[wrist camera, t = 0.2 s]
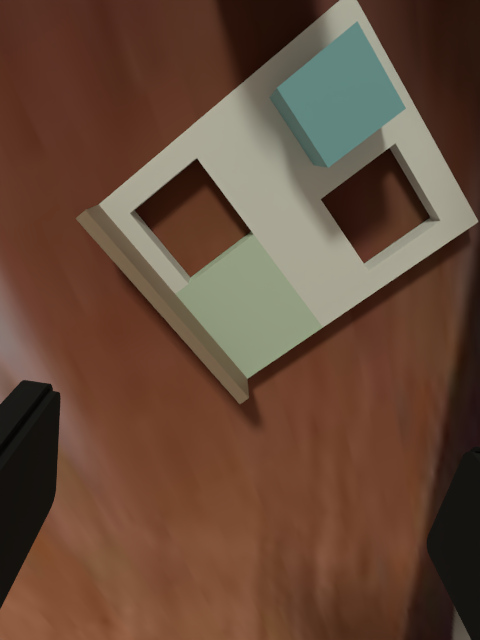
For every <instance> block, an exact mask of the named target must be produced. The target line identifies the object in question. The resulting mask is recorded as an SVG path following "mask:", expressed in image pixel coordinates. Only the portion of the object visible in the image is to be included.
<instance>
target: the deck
mask: <svg viewBox="0 0 480 640" xmlns="http://www.w3.org/2000/svg"><path fill="white" fill-rule="evenodd" d="M357 21H358V23H359V25H360V27H361V29H362V30H363V32H364V34H365V36H366V38H367V39H368V41H369V43H370V45H371V46H372V48H373V50H374V52H375V54H376V55H377V57H378V59H379V61H380V63H381V64H382V66H383V68H384V70H385V72H386V73H387V75H388V77H389V79H390V81H391V82H392V84H393V86H394V88H395V90H396V91H397V93H398V95H399V97H400V99H401V100H402V102H403V104H404V106H405V107H406V109H405V110H403V111H402V112H401V113H399V114H398V115H397V116H396V117H394V118H393V119H392V120H390V121H389V122H388V123H386V124H385V125H384V126H382V127H381V128H380V129H378V130H377V131H376V132H375V133H373V134H372V135H371V136H369V137H368V138H367V139H365V140H364V141H363V142H361V143H360V144H359V145H358V146H356V147H355V148H354V149H352V150H351V151H350V152H348V153H347V154H346V155H344V156H343V157H342V158H340V159H339V160H338V161H337V162H335V163H334V164H333V165H331V166H330V167H329V168H327V167H321V166H315V165H313V163H312V162H311V160H310V159H309V157H308V156H307V154H306V153H305V151H304V150H303V148H302V147H301V145H300V144H299V142H298V141H297V139H296V138H295V136H294V134H293V133H292V131H291V130H290V128H289V127H288V125H287V124H286V122H285V121H284V119H283V118H282V116H281V115H280V113H279V112H278V110H277V109H276V107H275V106H274V104H273V102H272V101H271V99H270V96H271V95H272V94H273V92H274V91H275V90H276V88H277V87H278V86H280V85H281V84H282V83H283V82H284V81H286V80H287V79H288V78H289V77H290V76H292V75H293V74H294V73H295V72H296V71H298V70H299V69H300V68H301V67H303V66H304V65H305V64H306V63H307V62H309V61H310V60H311V59H312V58H313V57H315V56H316V55H317V54H318V53H319V52H321V51H322V50H323V49H324V48H325V47H327V46H328V45H329V44H330V43H331V42H333V41H334V40H335V39H336V38H338V37H339V36H340V35H341V34H342V33H344V32H345V31H346V30H347V29H348V28H350V27H351V26H352V25H353V24H354V23H356V22H357ZM388 148H390V150H391V151H392V153H393V155H394V156H395V158H396V160H397V162H398V163H399V165H400V167H401V168H402V170H403V172H404V173H405V175H406V177H407V179H408V180H409V182H410V184H411V185H412V187H413V189H414V190H415V192H416V194H417V196H418V197H419V199H420V201H421V202H422V204H423V206H424V207H425V209H426V211H427V213H428V214H429V216H430V218H429V219H427V220H426V221H425V222H423V223H422V224H420V225H419V226H417V227H416V228H415V229H413V230H412V231H410V232H409V233H407V234H406V235H405V236H403V237H402V238H400V239H399V240H397V241H396V242H394V243H393V244H392V245H390V246H389V247H387V248H386V249H384V250H383V251H382V252H380V253H379V254H377V255H376V256H374V257H373V258H372V259H370V260H369V261H367V262H366V263H363V262H362V260H361V259H360V257H359V256H358V254H357V253H356V251H355V250H354V248H353V247H352V245H351V244H350V242H349V241H348V239H347V238H346V236H345V235H344V233H343V232H342V231H341V229H340V228H339V226H338V225H337V223H336V222H335V220H334V219H333V217H332V216H331V214H330V213H329V211H328V210H327V208H326V207H325V205H324V204H323V202H322V201H321V199H322V198H323V197H324V196H326V195H327V194H328V193H330V192H331V191H332V190H334V189H335V188H336V187H338V186H339V185H340V184H342V183H343V182H344V181H346V180H347V179H348V178H350V177H351V176H352V175H354V174H355V173H356V172H358V171H359V170H360V169H362V168H363V167H364V166H366V165H367V164H368V163H370V162H371V161H372V160H374V159H375V158H376V157H378V156H379V155H380V154H382V153H383V152H384V151H386V150H387V149H388ZM196 159H198V160H199V162H200V163H201V164H202V166H203V167H204V168H205V170H206V171H207V172H208V174H209V175H210V176H211V178H212V179H213V180H214V182H215V183H216V184H217V186H218V187H219V188H220V190H221V191H222V192H223V194H224V195H225V197H226V198H227V199H228V201H229V202H230V203H231V205H232V206H233V207H234V209H235V210H236V211H237V213H238V214H239V215H240V217H241V218H242V219H243V221H244V222H245V223H246V225H247V226H248V227H249V229H250V230H251V232H250V233H249V234H247V235H246V236H245V237H243V238H242V239H241V240H239V241H238V242H237V243H235V244H234V245H233V246H231V247H230V248H229V249H228V250H226V251H225V252H224V253H222V254H221V255H220V256H218V257H217V258H216V259H214V260H213V261H212V262H210V263H209V264H208V265H206V266H205V267H204V268H203V269H201V270H200V271H199V272H197V273H196V274H195V275H193V276H192V277H191V278H190V277H189V275H188V274H187V273H186V272H185V271H184V269H183V268H182V267H181V266H180V265H179V263H178V262H177V261H176V260H175V258H174V257H173V256H172V255H171V254H170V252H169V251H168V250H167V249H166V248H165V246H164V245H163V244H162V243H161V242H160V240H159V239H158V238H157V237H156V236H155V234H154V233H153V232H152V231H151V230H150V228H149V227H148V226H147V225H146V223H145V222H144V221H143V220H142V219H141V217H140V216H139V215H138V214H137V213H136V211H135V209H137V208H138V207H139V206H140V205H141V204H143V203H144V202H145V201H146V200H147V199H149V198H150V197H151V196H152V195H153V194H155V193H156V192H157V191H158V190H160V189H161V188H162V187H163V186H164V185H166V184H167V183H168V182H169V181H170V180H172V179H173V178H174V177H175V176H176V175H178V174H179V173H180V172H181V171H183V170H184V169H185V168H186V167H187V166H189V165H190V164H191V163H192V162H193V161H195V160H196ZM76 219H77V221H78V222H79V223H80V224H81V225H82V226H83V227H84V228H85V230H86V231H87V232H88V233H89V234H90V235H91V236H92V237H93V239H94V240H95V241H96V242H97V243H98V244H99V245H100V247H101V248H102V249H103V250H104V251H105V252H106V253H107V254H108V256H109V257H110V258H111V259H112V260H113V261H114V262H115V264H116V265H117V266H118V267H119V268H120V269H121V270H122V271H123V273H124V274H125V275H126V276H127V277H128V278H129V279H130V281H131V282H132V283H133V284H134V285H135V286H136V287H137V288H138V290H139V291H140V292H141V293H142V294H143V295H144V296H145V298H146V299H147V300H148V301H149V302H150V303H151V304H152V305H153V307H154V308H155V309H156V310H157V311H158V312H159V313H160V314H161V316H162V317H163V318H164V319H165V320H166V321H167V322H168V324H169V325H170V326H171V327H172V328H173V329H174V330H175V331H176V333H177V334H178V335H179V336H180V337H181V338H182V339H183V341H184V342H185V343H186V344H187V345H188V346H189V347H190V348H191V350H192V351H193V352H194V353H195V354H196V355H197V356H198V358H199V359H200V360H201V361H202V362H203V363H204V364H205V365H206V367H207V368H208V369H209V370H210V371H211V372H212V373H213V375H214V376H215V377H216V378H217V379H218V380H219V381H220V382H221V384H222V385H223V386H224V387H225V388H226V389H227V390H228V392H229V393H230V394H231V395H232V396H233V397H234V398H235V399H236V401H237V402H238V403H239V404H241V403H243V402H244V401H246V400H247V399H249V391H248V378H249V377H251V376H252V375H254V374H255V373H257V372H258V371H260V370H261V369H263V368H264V367H266V366H267V365H268V364H270V363H271V362H273V361H274V360H276V359H277V358H279V357H280V356H282V355H283V354H285V353H286V352H288V351H289V350H291V349H292V348H293V347H295V346H296V345H298V344H299V343H301V342H302V341H304V340H305V339H307V338H308V337H310V336H311V335H313V334H314V333H316V332H317V331H318V330H320V329H321V328H323V327H324V326H326V325H327V324H329V323H330V322H332V321H333V320H335V319H336V318H338V317H339V316H341V315H342V314H344V313H345V312H346V311H348V310H349V309H351V308H352V307H354V306H355V305H357V304H358V303H360V302H361V301H363V300H364V299H366V298H367V297H369V296H370V295H371V294H373V293H374V292H376V291H377V290H379V289H380V288H382V287H383V286H385V285H386V284H388V283H389V282H391V281H392V280H394V279H395V278H396V277H398V276H399V275H401V274H402V273H404V272H405V271H407V270H408V269H410V268H411V267H413V266H414V265H416V264H417V263H419V262H420V261H422V260H423V259H424V258H426V257H427V256H429V255H430V254H432V253H433V252H435V251H436V250H438V249H439V248H441V247H442V246H444V245H445V244H447V243H448V242H449V241H451V240H452V239H454V238H455V237H457V236H458V235H460V234H461V233H463V232H464V231H466V230H467V229H469V228H470V227H472V226H473V225H474V224H476V223H477V222H478V220H477V218H476V216H475V214H474V213H473V211H472V209H471V207H470V205H469V203H468V202H467V200H466V198H465V196H464V194H463V193H462V191H461V189H460V187H459V185H458V183H457V182H456V180H455V178H454V176H453V174H452V173H451V171H450V169H449V167H448V165H447V163H446V162H445V160H444V158H443V156H442V154H441V152H440V151H439V149H438V147H437V145H436V143H435V142H434V140H433V138H432V136H431V134H430V132H429V131H428V129H427V127H426V125H425V123H424V122H423V120H422V118H421V116H420V114H419V112H418V111H417V109H416V107H415V105H414V103H413V102H412V100H411V98H410V96H409V94H408V92H407V91H406V89H405V87H404V85H403V83H402V82H401V80H400V78H399V76H398V74H397V72H396V71H395V69H394V67H393V65H392V63H391V62H390V60H389V58H388V56H387V54H386V52H385V51H384V49H383V47H382V45H381V43H380V42H379V40H378V38H377V36H376V34H375V32H374V31H373V29H372V27H371V25H370V23H369V22H368V20H367V18H366V16H365V14H364V12H363V11H362V9H361V7H360V5H359V3H358V2H357V0H340V1H338V2H337V3H336V4H335V5H334V6H333V7H331V8H330V9H329V10H328V11H327V12H325V13H324V14H323V15H322V16H321V17H320V18H318V19H317V20H316V21H315V22H314V23H312V24H311V25H310V26H309V27H308V28H307V29H305V30H304V31H303V32H302V33H301V34H299V35H298V36H297V37H296V38H295V39H294V40H292V41H291V42H290V43H289V44H288V45H287V46H285V47H284V48H283V49H282V50H281V51H279V52H278V53H277V54H276V55H275V56H274V57H272V58H271V59H270V60H269V61H268V62H266V63H265V64H264V65H263V66H262V67H261V68H259V69H258V70H257V71H256V72H255V73H253V74H252V75H251V76H250V77H249V78H248V79H246V80H245V81H244V82H243V83H242V84H240V85H239V86H238V87H237V88H236V89H235V90H233V91H232V92H231V93H230V94H229V95H228V96H226V97H225V98H224V99H223V100H222V101H220V102H219V103H218V104H217V105H216V106H215V107H213V108H212V109H211V110H210V111H209V112H207V113H206V114H205V115H204V116H203V117H202V118H200V119H199V120H198V121H197V122H196V123H194V124H193V125H192V126H191V127H190V128H189V129H187V130H186V131H185V132H184V133H183V134H182V135H180V136H179V137H178V138H177V139H176V140H174V141H173V142H172V143H171V144H170V145H169V146H167V147H166V148H165V149H164V150H163V151H161V152H160V153H159V154H158V155H157V156H156V157H154V158H153V159H152V160H151V161H150V162H148V163H147V164H146V165H145V166H144V167H143V168H141V169H140V170H139V171H138V172H137V173H135V174H134V175H133V176H132V177H131V178H130V179H128V180H127V181H126V182H125V183H124V184H123V185H121V186H120V187H119V188H118V189H117V190H115V191H114V192H113V193H112V194H111V195H110V196H108V197H107V198H106V199H105V200H104V201H102V202H101V203H100V204H99V205H97V206H94V207H92V208H89V209H87V210H85V211H84V212H83V213H82V214H80V215H79V216H78V217H77V218H76Z"/></svg>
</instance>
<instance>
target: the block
mask: <svg viewBox="0 0 480 640" xmlns="http://www.w3.org/2000/svg"><path fill="white" fill-rule="evenodd" d="M270 99H271V101H272V102H273V104H274V106H275V107H276V109H277V110H278V112H279V113H280V115H281V116H282V118H283V119H284V121H285V122H286V124H287V125H288V127H289V128H290V130H291V131H292V133H293V134H294V136H295V138H296V139H297V141H298V142H299V144H300V145H301V147H302V148H303V150H304V151H305V153H306V154H307V156H308V157H309V159H310V160H311V162H312V163H313V165H315V166H321V167H327V168H329V167H330V166H331V165H333V164H334V163H335V162H337V161H338V160H339V159H340V158H342V157H343V156H344V155H346V154H347V153H348V152H350V151H351V150H352V149H354V148H355V147H356V146H358V145H359V144H360V143H361V142H363V141H364V140H365V139H367V138H368V137H369V136H371V135H372V134H373V133H375V132H376V131H377V130H378V129H380V128H381V127H382V126H384V125H385V124H386V123H388V122H389V121H390V120H392V119H393V118H394V117H396V116H397V115H398V114H399V113H401V112H402V111H403V110H405V109H406V107H405V106H404V104H403V102H402V100H401V99H400V97H399V95H398V93H397V91H396V90H395V88H394V86H393V84H392V82H391V81H390V79H389V77H388V75H387V73H386V72H385V70H384V68H383V66H382V64H381V63H380V61H379V59H378V57H377V55H376V54H375V52H374V50H373V48H372V46H371V45H370V43H369V41H368V39H367V38H366V36H365V34H364V32H363V30H362V29H361V27H360V25H359V23H358V21H357V22H356V23H354V24H353V25H352V26H351V27H350V28H348V29H347V30H346V31H345V32H344V33H342V34H341V35H340V36H339V37H338V38H336V39H335V40H334V41H333V42H331V43H330V44H329V45H328V46H327V47H325V48H324V49H323V50H322V51H321V52H319V53H318V54H317V55H316V56H315V57H313V58H312V59H311V60H310V61H309V62H307V63H306V64H305V65H304V66H303V67H301V68H300V69H299V70H298V71H296V72H295V73H294V74H293V75H292V76H290V77H289V78H288V79H287V80H286V81H284V82H283V83H282V84H281V85H280V86H278V87H277V88H276V90H275V91H274V92H273V94H272V95H271V96H270Z"/></svg>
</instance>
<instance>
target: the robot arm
mask: <svg viewBox="0 0 480 640" xmlns="http://www.w3.org/2000/svg"><path fill="white" fill-rule="evenodd" d="M59 416H60V393H59V392H55V391H53V388H52V385H51V384H47V383H40V382H34V381H27V380H23V381H22V382H20V383H19V385H18V386H17V387H16V388H15V389H14V390H13V391H12V392H11V393H10V394H9V396H8V397H7V398H6V399H5V400H4V401H3V402H2V403H1V404H0V608H1V606H2V604H3V602H4V600H5V598H6V596H7V594H8V592H9V590H10V588H11V586H12V585H13V583H14V581H15V579H16V577H17V575H18V573H19V571H20V569H21V567H22V565H23V563H24V561H25V559H26V557H27V555H28V553H29V551H30V549H31V547H32V545H33V543H34V541H35V539H36V537H37V535H38V533H39V531H40V529H41V527H42V525H43V523H44V521H45V519H46V517H47V515H48V513H49V511H50V509H51V506H52V504H53V501H54V497H55V492H56V477H57V457H58V437H59ZM427 550H428V553H429V556H430V558H431V560H432V562H433V564H434V566H435V568H436V570H437V572H438V574H439V576H440V578H441V580H442V582H443V584H444V586H445V588H446V590H447V592H448V594H449V596H450V598H451V600H452V602H453V604H454V606H455V608H456V610H457V612H458V614H459V616H460V618H461V620H462V622H463V624H464V626H465V628H466V630H467V632H468V634H469V636H470V638H471V640H480V447H474V448H472V449H471V450H470V452H466V453H465V454H464V455H463V457H462V459H461V461H460V464H459V466H458V468H457V471H456V473H455V475H454V477H453V480H452V482H451V484H450V487H449V489H448V491H447V494H446V496H445V498H444V500H443V503H442V505H441V507H440V510H439V512H438V514H437V517H436V519H435V521H434V523H433V526H432V528H431V530H430V533H429V535H428V538H427Z"/></svg>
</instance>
